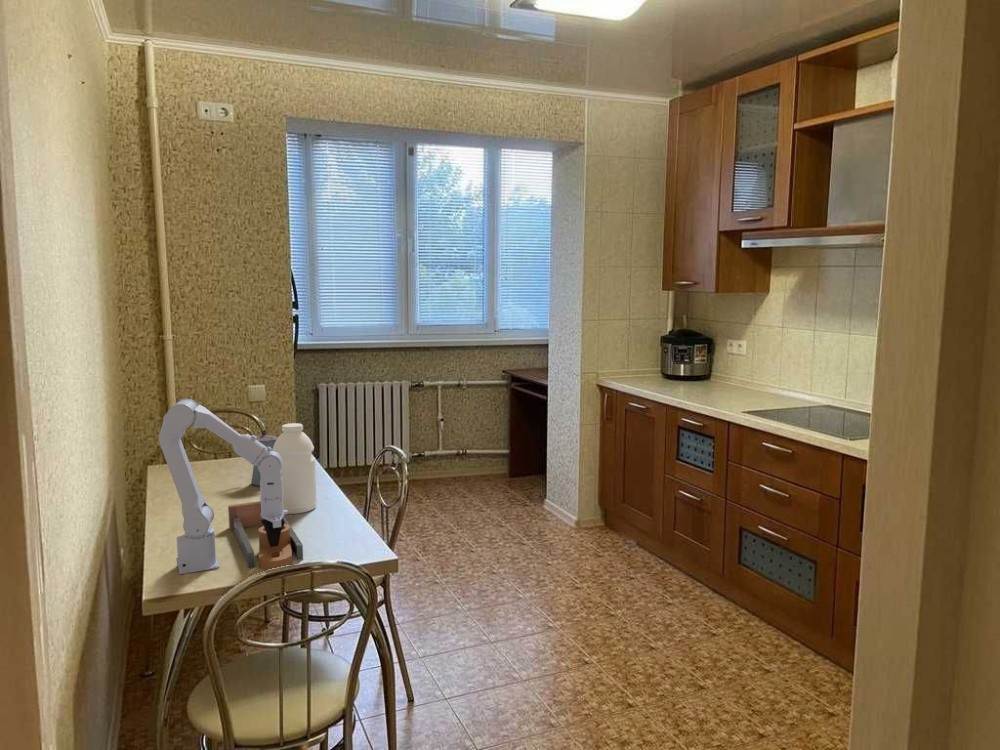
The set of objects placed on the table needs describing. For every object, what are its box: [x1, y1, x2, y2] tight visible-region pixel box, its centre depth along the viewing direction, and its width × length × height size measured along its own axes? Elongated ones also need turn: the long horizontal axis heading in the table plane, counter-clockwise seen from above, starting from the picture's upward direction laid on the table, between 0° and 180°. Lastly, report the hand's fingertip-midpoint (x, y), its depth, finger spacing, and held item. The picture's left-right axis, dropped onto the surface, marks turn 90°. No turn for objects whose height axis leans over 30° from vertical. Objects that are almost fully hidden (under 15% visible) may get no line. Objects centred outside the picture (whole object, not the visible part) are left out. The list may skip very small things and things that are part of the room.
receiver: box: [227, 500, 304, 569], centre depth 211 cm, size 16×36×7 cm, turn 26°
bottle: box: [272, 422, 318, 515], centre depth 241 cm, size 14×14×28 cm
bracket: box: [258, 524, 293, 571], centre depth 199 cm, size 18×8×7 cm, turn 18°
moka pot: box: [251, 430, 278, 487], centre depth 272 cm, size 10×15×20 cm, turn 81°
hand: (273, 545), depth 197 cm, fingers closed
